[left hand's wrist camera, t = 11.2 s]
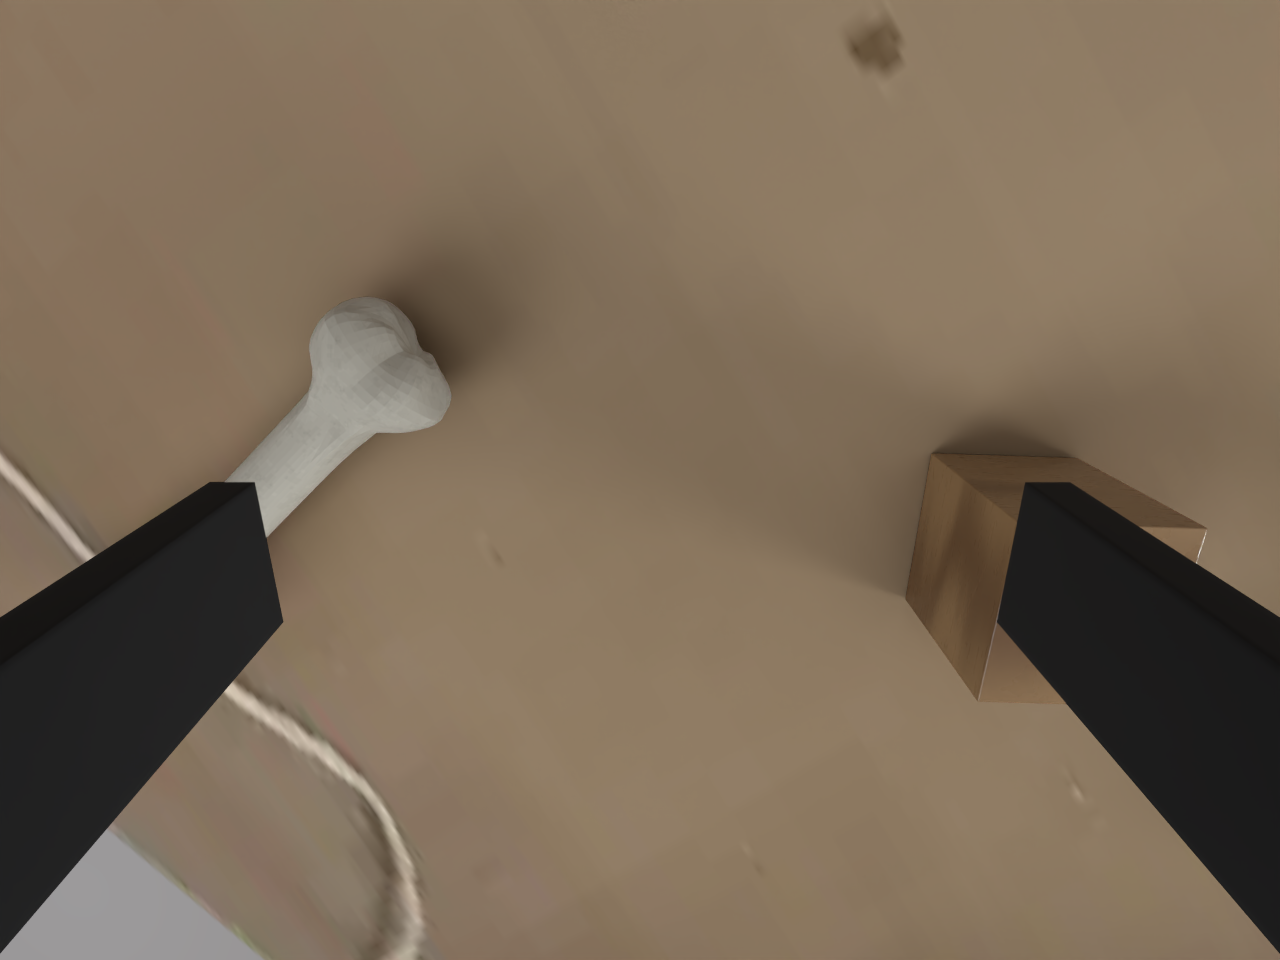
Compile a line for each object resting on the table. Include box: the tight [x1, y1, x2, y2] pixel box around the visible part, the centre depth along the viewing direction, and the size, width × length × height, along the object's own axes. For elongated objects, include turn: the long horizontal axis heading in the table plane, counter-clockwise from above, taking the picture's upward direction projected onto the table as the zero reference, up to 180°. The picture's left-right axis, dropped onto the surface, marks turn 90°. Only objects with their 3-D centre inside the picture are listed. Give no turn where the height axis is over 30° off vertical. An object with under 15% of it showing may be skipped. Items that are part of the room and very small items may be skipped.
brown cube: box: [906, 453, 1207, 704], centre depth 31 cm, size 8×7×8 cm
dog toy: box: [225, 296, 452, 538], centre depth 31 cm, size 20×6×5 cm, turn 133°
